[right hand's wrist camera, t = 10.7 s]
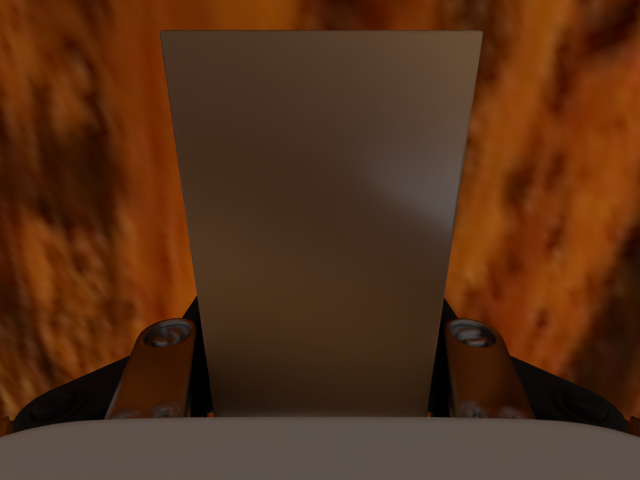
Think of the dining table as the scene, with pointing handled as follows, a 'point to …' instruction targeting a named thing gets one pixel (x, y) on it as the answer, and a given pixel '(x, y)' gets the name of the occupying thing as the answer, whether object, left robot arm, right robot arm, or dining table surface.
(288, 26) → the dining table surface
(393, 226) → the beam
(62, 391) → the right robot arm
